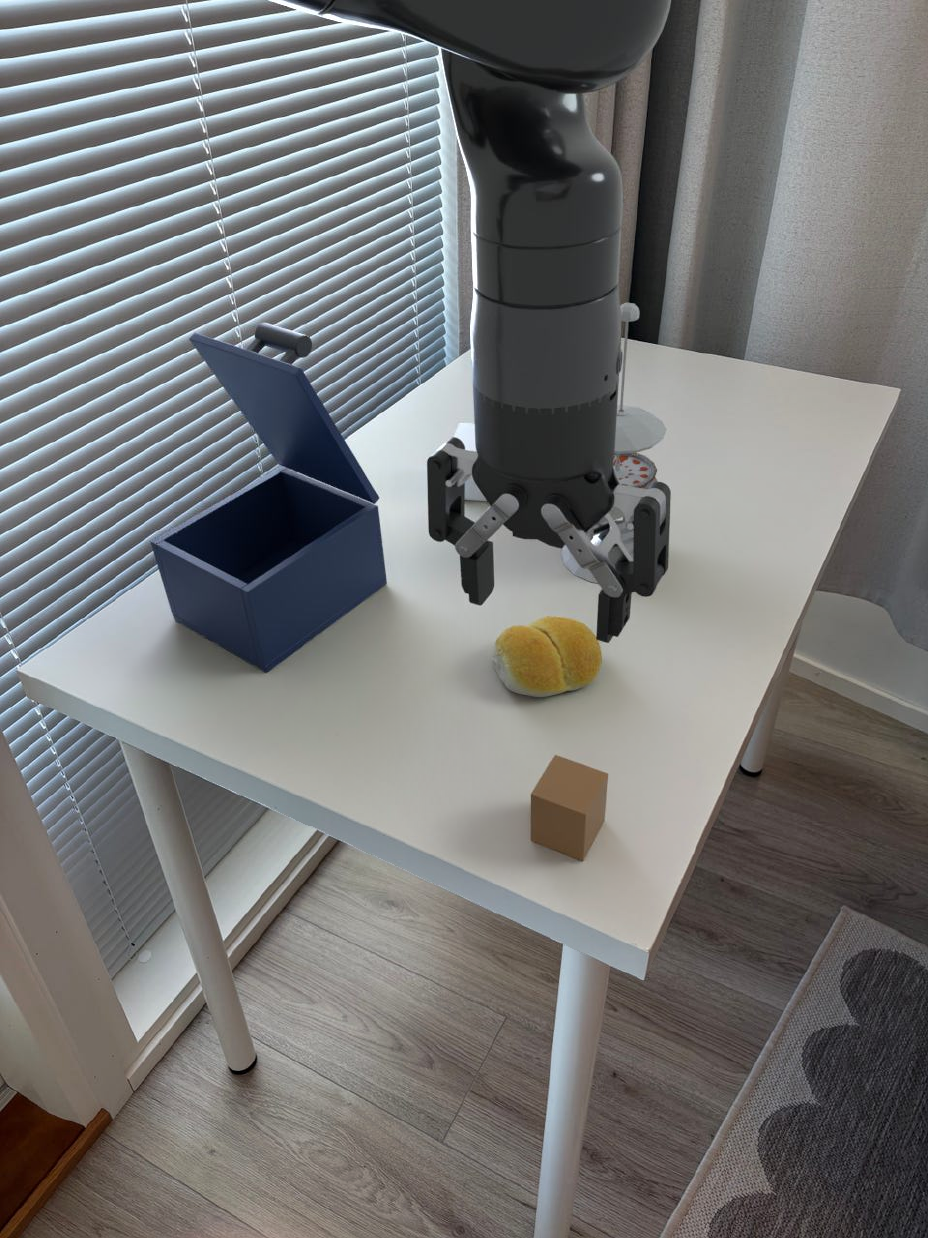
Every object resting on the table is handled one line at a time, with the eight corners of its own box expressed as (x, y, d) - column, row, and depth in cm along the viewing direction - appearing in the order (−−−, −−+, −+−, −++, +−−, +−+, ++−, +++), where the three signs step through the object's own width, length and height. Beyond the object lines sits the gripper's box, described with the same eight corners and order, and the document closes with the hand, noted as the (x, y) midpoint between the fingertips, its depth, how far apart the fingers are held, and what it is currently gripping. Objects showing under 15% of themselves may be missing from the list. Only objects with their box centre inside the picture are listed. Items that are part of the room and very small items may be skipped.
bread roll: (616, 683, 79) (619, 646, 76) (517, 712, 77) (516, 675, 74) (574, 624, 85) (576, 589, 82) (481, 649, 83) (479, 614, 80)
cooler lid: (295, 374, 71) (333, 328, 73) (188, 338, 78) (225, 296, 79) (375, 504, 85) (406, 463, 86) (278, 464, 91) (309, 426, 93)
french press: (683, 557, 92) (716, 304, 76) (596, 606, 87) (611, 344, 71) (612, 515, 98) (628, 273, 82) (526, 558, 93) (526, 308, 77)
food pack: (583, 862, 65) (585, 815, 62) (530, 840, 67) (530, 794, 64) (604, 820, 68) (608, 773, 65) (553, 801, 69) (554, 754, 66)
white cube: (450, 499, 102) (447, 449, 98) (462, 470, 107) (459, 422, 103) (506, 502, 101) (504, 452, 97) (515, 474, 106) (514, 425, 102)
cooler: (266, 673, 82) (247, 592, 76) (173, 619, 88) (149, 541, 82) (387, 583, 91) (378, 505, 85) (295, 541, 97) (281, 465, 92)
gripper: (388, 376, 49) (414, 620, 59) (654, 427, 43) (631, 686, 54) (457, 322, 54) (470, 556, 64) (703, 362, 48) (674, 610, 59)
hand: (543, 615), depth 59 cm, fingers open, 8 cm apart
